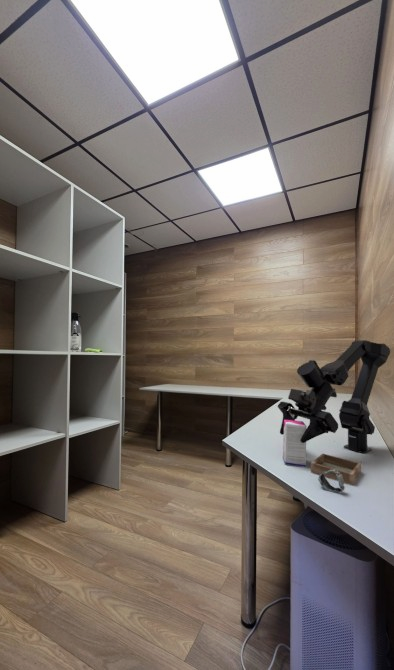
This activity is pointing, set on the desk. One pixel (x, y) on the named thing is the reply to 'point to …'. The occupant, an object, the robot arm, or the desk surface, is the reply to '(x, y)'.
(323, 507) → the desk surface
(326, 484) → the wristwatch
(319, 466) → the square wooden tray
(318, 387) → the robot arm
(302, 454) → the supplement box
